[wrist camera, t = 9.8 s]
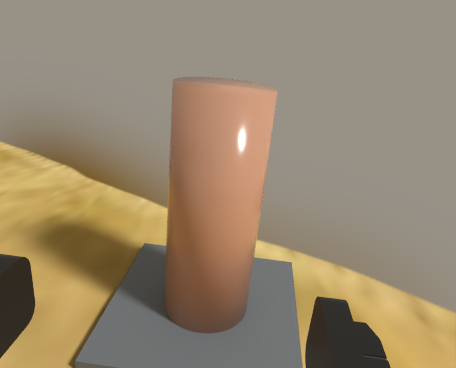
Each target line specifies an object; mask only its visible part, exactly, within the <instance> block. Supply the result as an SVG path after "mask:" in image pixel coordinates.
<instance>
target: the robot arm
mask: <svg viewBox="0 0 456 368" xmlns="http://www.w3.org/2000/svg"><path fill="white" fill-rule="evenodd" d="M34 309H35V297H34V289H33V282H32V274H31V266H30V262H29V260H28V259H27V258H26V257H19V256H11V255H4V254H0V358H1V357H2V356H3V354H4V353H5V352H6V351H7V350H8V348H9V347H10V346H11V345H12V344H13V342H14V341H15V340H16V339H17V337H18V336H19V335H20V334H21V333H22V331H23V330H24V329H25V328H26V327H27V325H28V324H29V322H30V320H31V318H32V316H33V313H34ZM386 358H387V357H386V354H385V352H384V349H383V346H382V344H381V341H380V339H379V338H378V336H377V335H376V334H375V333H374V332H373V331H372V329H371V328H370V327H369V326H368V325H367V324H366V323H362V322H355V321H353V319H352V316H351V312H350V309H349V306H348V303H347V301H346V300H340V299H333V298H325V297H317V298H316V300H315V304H314V309H313V314H312V318H311V323H310V328H309V332H308V337H307V342H306V353H305V362H306V368H391V367H390V365H389V362H388V361H387V360H386Z"/></svg>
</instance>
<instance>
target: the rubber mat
mask: <svg viewBox="0 0 456 368" xmlns="http://www.w3.org/2000/svg"><path fill="white" fill-rule="evenodd" d="M165 269H166V246H162V245H154V244H146V243H144V245H143V247H142V248H141V250H140V252H139V254H138V255H137V257H136V259H135V260H134V262H133V264H132V265H131V267H130V269H129V270H128V272H127V274H126V275H125V277H124V279H123V281H122V282H121V284H120V286H119V287H118V289H117V291H116V292H115V294H114V296H113V297H112V299H111V301H110V303H109V304H108V306H107V308H106V309H105V311H104V313H103V314H102V316H101V318H100V319H99V321H98V323H97V324H96V326H95V328H94V330H93V331H92V333H91V335H90V336H89V338H88V340H87V341H86V343H85V345H84V346H83V348H82V350H81V351H80V353H79V355H78V357H77V358H76V360H75V368H303V367H302V357H301V348H300V338H299V329H298V319H297V310H296V300H295V291H294V281H293V272H292V263H291V262H284V261H276V260H269V259H261V258H254V261H253V268H252V275H251V282H250V289H249V296H248V303H247V309H246V313H245V316H244V318H243V319H242V320H241V321H240V322H239V323H238V324H237V325H236V326H234V327H233V328H231V329H228V330H226V331H223V332H218V333H197V332H193V331H189V330H186V329H184V328H182V327H180V326H178V325H177V324H176V323H174V322H173V321H172V320H171V319H170V318H169V316H168V315H167V313H166V311H165V307H164V295H165Z"/></svg>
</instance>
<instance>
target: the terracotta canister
mask: <svg viewBox="0 0 456 368" xmlns="http://www.w3.org/2000/svg"><path fill="white" fill-rule="evenodd" d="M172 89H173V90H172V113H171V140H170V166H169V191H168V217H167V243H166V269H165V295H164V307H165V311H166V313H167V315H168V316H169V318H170V319H171V320H172V321H173V322H174V323H176V324H177V325H178V326H180V327H182V328H184V329H186V330H189V331H193V332H197V333H218V332H223V331H226V330H228V329H231V328H233V327H234V326H236V325H237V324H238V323H239V322H240V321H241V320H242V319H243V318H244V316H245V313H246V309H247V303H248V296H249V289H250V282H251V275H252V268H253V261H254V254H255V247H256V240H257V233H258V226H259V219H260V212H261V205H262V198H263V191H264V184H265V177H266V170H267V163H268V156H269V149H270V142H271V135H272V128H273V121H274V114H275V107H276V101H277V93H278V90H277V89H275V88H273V87H270V86H267V85H263V84H258V83H253V82H248V81H240V80H233V79H223V78H210V77H184V78H177V79H174V80H173V88H172Z"/></svg>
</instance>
